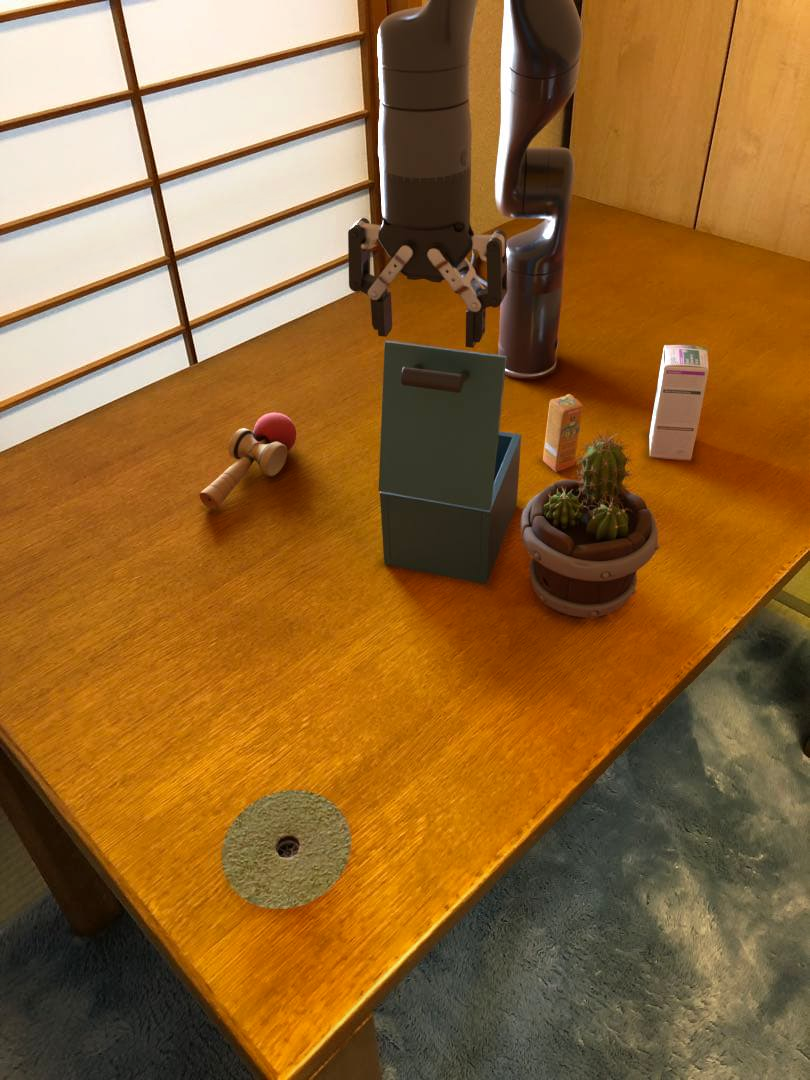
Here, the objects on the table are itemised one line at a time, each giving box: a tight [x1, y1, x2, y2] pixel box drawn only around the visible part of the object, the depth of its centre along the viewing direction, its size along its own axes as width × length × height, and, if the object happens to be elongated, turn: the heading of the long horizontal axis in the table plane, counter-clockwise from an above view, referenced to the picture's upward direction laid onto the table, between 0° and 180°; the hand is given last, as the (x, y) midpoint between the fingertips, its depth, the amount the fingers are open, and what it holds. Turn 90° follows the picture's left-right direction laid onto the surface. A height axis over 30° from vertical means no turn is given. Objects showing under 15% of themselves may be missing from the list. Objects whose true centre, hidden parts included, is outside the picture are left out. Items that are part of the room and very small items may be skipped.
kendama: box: [199, 412, 297, 511], centre depth 119 cm, size 8×6×18 cm
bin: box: [379, 430, 522, 586], centre depth 106 cm, size 16×13×11 cm
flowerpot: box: [520, 429, 660, 620], centre depth 95 cm, size 14×15×20 cm
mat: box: [220, 789, 352, 910], centre depth 77 cm, size 11×11×2 cm
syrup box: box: [649, 344, 710, 461], centre depth 118 cm, size 6×6×14 cm
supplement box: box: [542, 393, 584, 473], centre depth 117 cm, size 3×3×10 cm
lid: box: [378, 340, 507, 510], centre depth 91 cm, size 17×13×5 cm
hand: (427, 338), depth 82 cm, fingers open, 8 cm apart
